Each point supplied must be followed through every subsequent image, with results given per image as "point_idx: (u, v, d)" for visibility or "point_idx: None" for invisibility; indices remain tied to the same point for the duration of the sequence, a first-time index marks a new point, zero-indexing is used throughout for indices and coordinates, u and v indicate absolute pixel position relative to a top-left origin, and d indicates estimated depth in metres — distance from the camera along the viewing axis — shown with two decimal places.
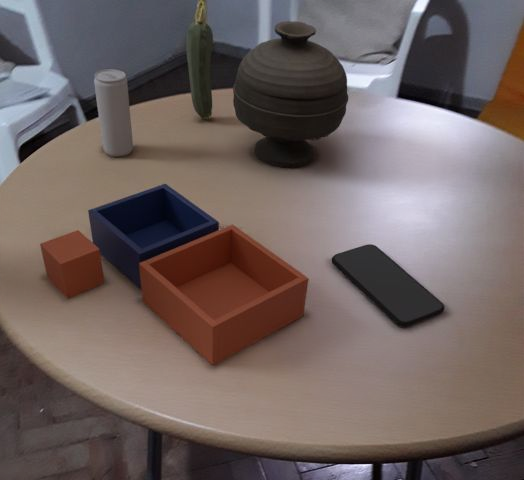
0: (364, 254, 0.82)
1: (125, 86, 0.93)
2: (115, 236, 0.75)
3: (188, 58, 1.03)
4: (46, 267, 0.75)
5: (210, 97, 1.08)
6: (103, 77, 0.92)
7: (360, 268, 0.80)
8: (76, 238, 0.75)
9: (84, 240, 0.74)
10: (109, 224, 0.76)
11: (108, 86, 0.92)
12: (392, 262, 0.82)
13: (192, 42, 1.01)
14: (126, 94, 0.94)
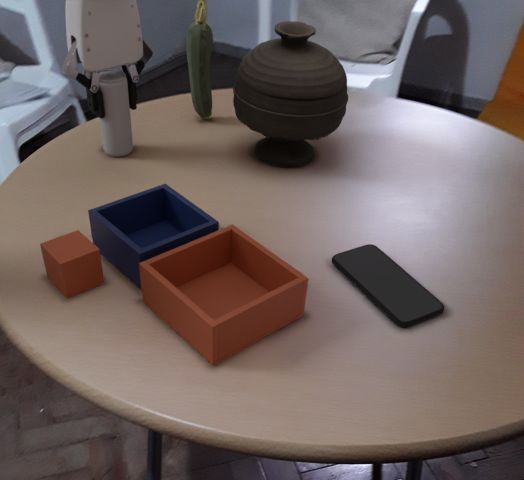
0: (364, 254, 0.82)
1: (125, 86, 0.93)
2: (115, 236, 0.75)
3: (188, 58, 1.03)
4: (46, 267, 0.75)
5: (210, 97, 1.08)
6: (103, 77, 0.92)
7: (360, 268, 0.80)
8: (76, 238, 0.75)
9: (84, 240, 0.74)
10: (109, 224, 0.76)
11: (108, 86, 0.92)
12: (392, 262, 0.82)
13: (192, 42, 1.01)
14: (126, 94, 0.94)
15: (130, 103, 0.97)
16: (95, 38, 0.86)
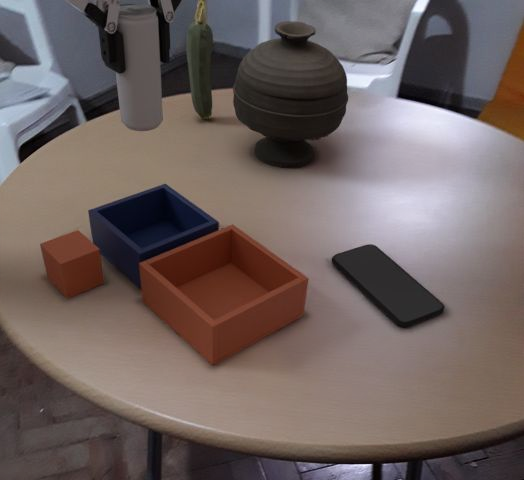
0: (364, 254, 0.82)
1: (156, 26, 0.64)
2: (115, 236, 0.75)
3: (188, 58, 1.03)
4: (46, 267, 0.75)
5: (210, 97, 1.08)
6: (124, 12, 0.63)
7: (360, 268, 0.80)
8: (76, 238, 0.75)
9: (84, 240, 0.74)
10: (109, 224, 0.76)
11: (131, 25, 0.63)
12: (392, 262, 0.82)
13: (192, 42, 1.01)
14: (156, 38, 0.65)
15: (161, 53, 0.68)
16: None
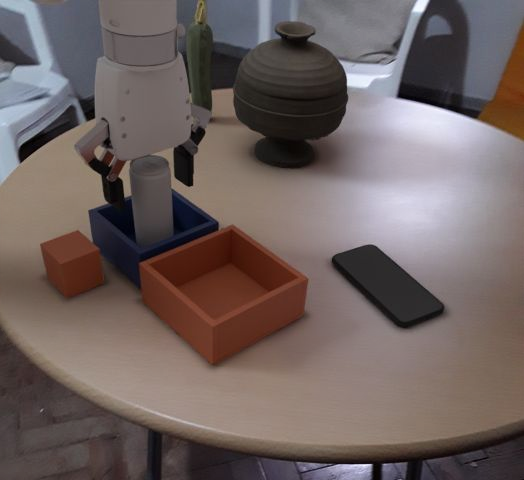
0: (364, 254, 0.82)
1: (168, 177, 0.74)
2: (115, 236, 0.75)
3: (188, 58, 1.03)
4: (46, 267, 0.75)
5: (210, 97, 1.08)
6: (141, 167, 0.72)
7: (360, 268, 0.80)
8: (76, 238, 0.75)
9: (84, 240, 0.74)
10: (109, 224, 0.76)
11: (147, 180, 0.72)
12: (392, 262, 0.82)
13: (192, 42, 1.01)
14: (169, 186, 0.74)
15: (185, 179, 0.77)
16: (133, 121, 0.66)
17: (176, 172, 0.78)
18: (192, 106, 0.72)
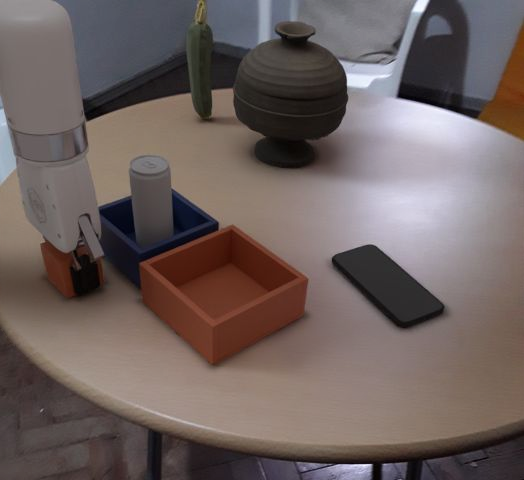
0: (364, 254, 0.82)
1: (168, 177, 0.74)
2: (115, 236, 0.75)
3: (188, 58, 1.03)
4: (46, 267, 0.75)
5: (210, 97, 1.08)
6: (141, 167, 0.72)
7: (360, 268, 0.80)
8: None
9: None
10: (109, 224, 0.76)
11: (147, 180, 0.72)
12: (392, 262, 0.82)
13: (192, 42, 1.01)
14: (169, 186, 0.74)
15: None
16: None
17: None
18: None
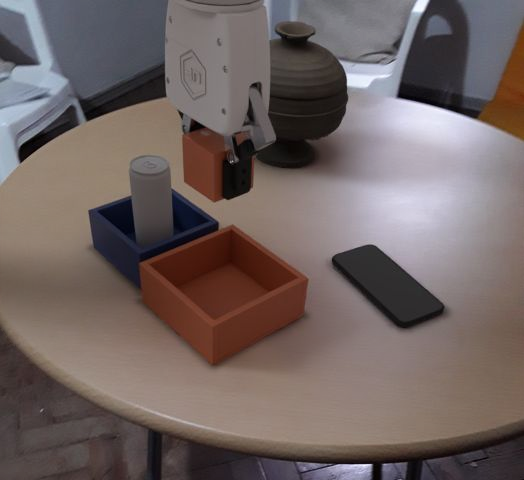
0: (364, 254, 0.82)
1: (168, 177, 0.74)
2: (115, 236, 0.75)
3: None
4: (186, 167, 0.62)
5: None
6: (141, 167, 0.72)
7: (360, 268, 0.80)
8: None
9: None
10: (109, 224, 0.76)
11: (147, 180, 0.72)
12: (392, 262, 0.82)
13: None
14: (169, 186, 0.74)
15: None
16: None
17: None
18: None
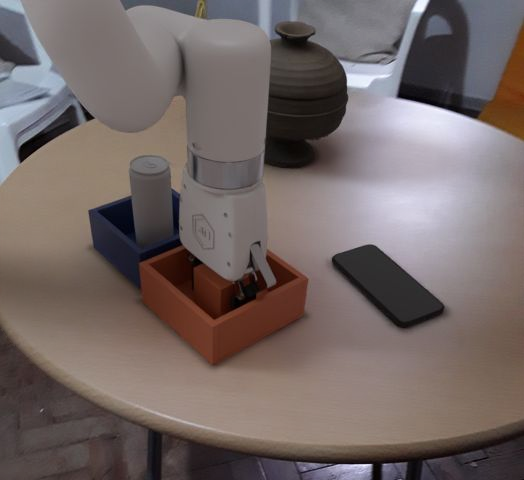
0: (364, 254, 0.82)
1: (168, 177, 0.74)
2: (115, 236, 0.75)
3: None
4: (196, 291, 0.73)
5: None
6: (141, 167, 0.72)
7: (360, 268, 0.80)
8: None
9: None
10: (109, 224, 0.76)
11: (147, 180, 0.72)
12: (392, 262, 0.82)
13: None
14: (169, 186, 0.74)
15: None
16: None
17: None
18: None
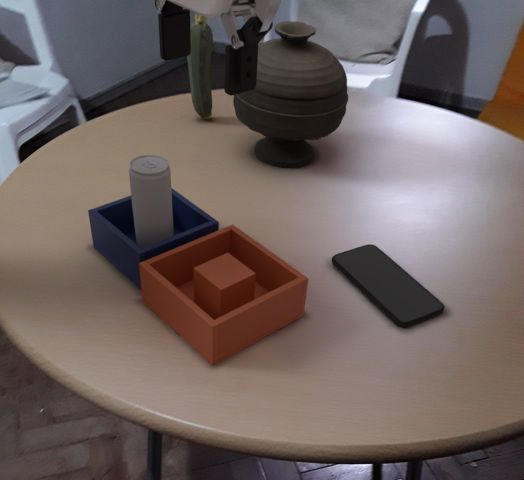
0: (364, 254, 0.82)
1: (168, 177, 0.74)
2: (115, 236, 0.75)
3: (188, 58, 1.03)
4: (196, 291, 0.73)
5: (210, 97, 1.08)
6: (141, 167, 0.72)
7: (360, 268, 0.80)
8: (228, 261, 0.72)
9: (237, 263, 0.72)
10: (109, 224, 0.76)
11: (147, 180, 0.72)
12: (392, 262, 0.82)
13: (192, 42, 1.01)
14: (169, 186, 0.74)
15: (187, 46, 0.60)
16: None
17: (169, 49, 0.59)
18: None
